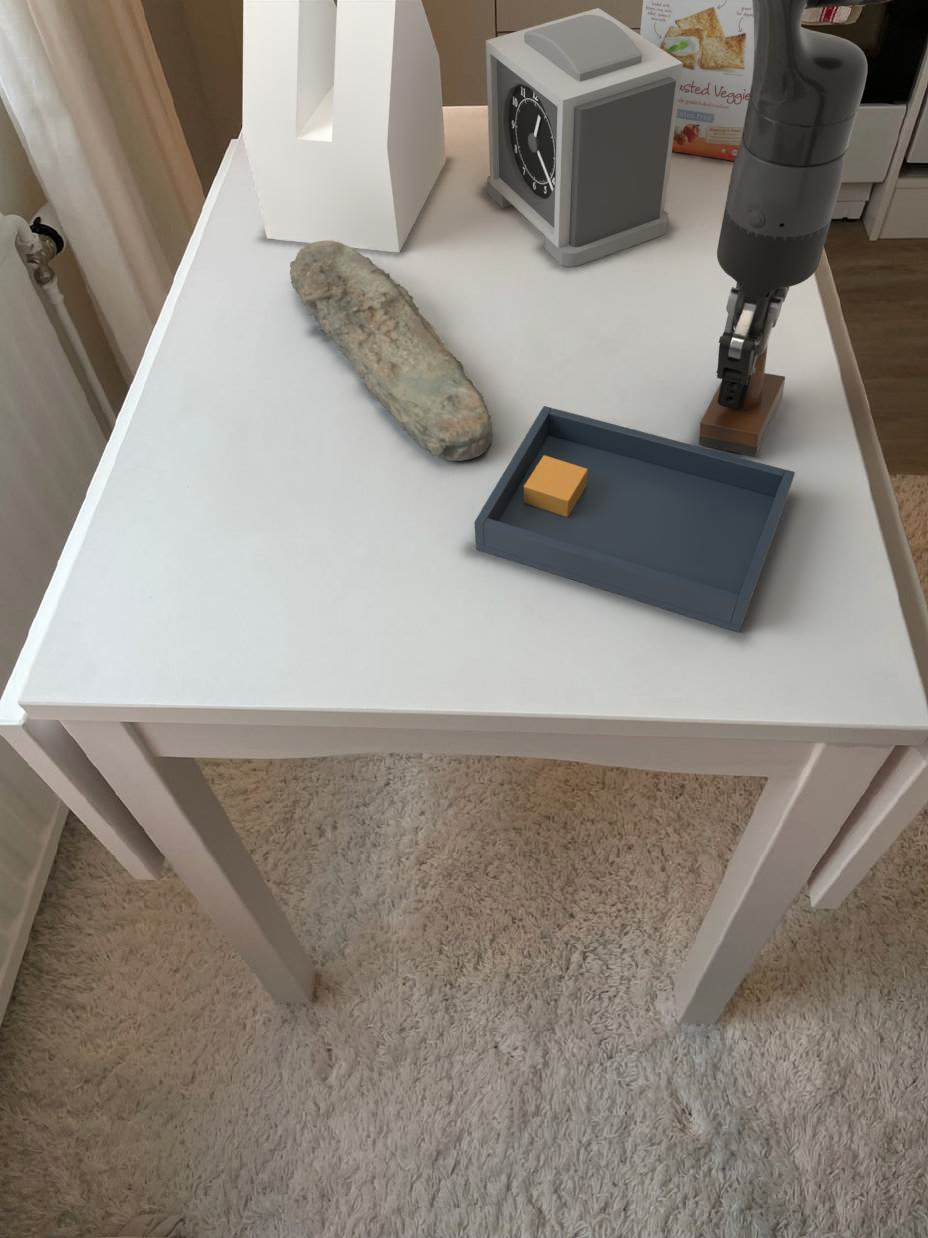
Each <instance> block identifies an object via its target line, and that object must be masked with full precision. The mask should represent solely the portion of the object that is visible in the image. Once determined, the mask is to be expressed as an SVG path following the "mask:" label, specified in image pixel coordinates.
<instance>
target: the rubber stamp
mask: <svg viewBox="0 0 928 1238" xmlns="http://www.w3.org/2000/svg"><path fill="white" fill-rule="evenodd" d="M748 336H749V335H748ZM761 336H762V333H761V335H760V336H753V337H761ZM768 347H769V343H768V344H767V346H766V348H765V351H764V352H763V353H762V354H760V355H758V357H757V361H756V365H755V368H756V370H755V373H754V374H753V375H752V377H751V381H750V385H749V389H748V393H747V397H746V401H745V404H744V406H743V408H742V409H741V410H735V409H731V408H728V407H724V406H721V405H719V404H718V396H719V391H720V387H721V383H719V386H718V387H717V389H716V392H715V393H714V395H713V397H712V399H711V401H710V403H709V405H708V407H707V408H706V410H705V412H704V415H703V417H702V418H701V420H700V422H699V435H698V436H699V437H698V445H699V446H702V447H708V448H712V449H716V450H717V449H718V450H723V451H727V452H733V453H737V454H743V455H747V456H752V457H757V455H758V453H759V452H760V451H759V450H760V448H761V447H762V444H763V443H764V440H765V438H766V436H767V433H768V431H769V429H770V427H771V424H772V423H773V420H774V418H775V416H776V414H777V411H778V409H779V407H780V405H781V403H782V401H783V397H784V390H785V383H786V376H784V375H779V374H773V373H768V372H766V365H767V364H766V363H767V357H768V356H767V354H768Z"/></svg>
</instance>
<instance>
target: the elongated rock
mask: <svg viewBox="0 0 928 1238" xmlns="http://www.w3.org/2000/svg"><path fill="white" fill-rule="evenodd" d="M289 268H290V269H289V275H290V283H291V285H292V288H293V289H294V291H295V292H296V293H297V295H298V296H299V297H300V302H301V303H302V305H304V306H305V309H307V312H308V313H307V314H308V315H309V316H312V317H313V318H314V319H315V321H316V322H317V323H319V326H318V331H323V332H324V333H325V335H327V337H328V338H329V339H332V340H333V343H334V344H335V346H336V347H337V348H338V349H339V350H340V352H341V354H342V355H343V356H344V357H345V358H346V359H347V360H348V361H349V362H350V363H351V364H352V366H353V368H354V370H355V371H356V373H357V375H358V377H359V378H360V379H362V380H363V381H364V383H365V386H366V389H367V391H368V392H369V393H370V394H372V395H373V396H374V397H375V398H376V400H378V401H379V402H380V404H381V406H382V407H384V408H386V409H387V411H388V412H389V413H390V414H392V416H393V417H394V419H395V420H396V422H397V423H398V424H399V426H400V427H401V429H402V430H403V431H406V432H407V433H408V435H409V436H410V437H411V438H412V439H413V440H415V441H416V442H417V443H418V444H419V446H420V448H421V449H426V450H429V451H430V452H431V455H432V456H433V457H435V458H436V457H441V458H443V459H445V460H447V461H452V462H455V461H459V462H462V461H468V460H472V459H474V458H476V457H480V456H481V455H482V454H484V453H485V452H487V450H488V448H489V446H490V445H491V442H492V439H493V437H494V433H493V423H492V416H491V414H490V412H489V410H488V405H487V402H485V399H484V396H483V393H482V392H480V391H479V389H477V387H476V386H475V385H474V383H473V381H472V380H471V379H470V378H469V377H468V376H467V375H466V372H465V369H464V367H463V366H464V365H463V364H462V363H461V361H460V360H459V359H457V357H455V356H454V355H453V354H452V353H451V351H450V350H448V349H447V347H446V346H445V344H444V342H443V341H442V340H441V338H440V337H439V334H438V333H437V332H436V331H435V330H434V327H433V326H432V325H431V323H430V322H429V321H428V320H426V318H425V317H424V316H423V315H422V314H421V312H420V307H418V306H417V305H416V303H415V302H414V301H413V300H414V297H413V296H412V295H410V293H409V290H407V289H406V288H405V287H404V286H402V285H401V284H400V283H397V282H395V281H394V279H392V278H391V275H390V273H389V272H385V270H384V269H382V268H379V267H378V266H377V265H376V264H375V263H373V261H372V260H371V259H370V257H368V256H364V255H363V254H361V253H360V252H358V250H356V249H355V248H351V247H349V246H347V245H344V244H342V243H340V242H335V241H328V240H326V241H316V242H313V243H306V244H305V245H304V246H302V247H301V248H300V249H299V251H298V252H297V253H296V256H295V259H294V260H293V261H290V263H289Z"/></svg>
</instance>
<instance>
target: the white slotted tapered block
mask: <svg viewBox="0 0 928 1238" xmlns="http://www.w3.org/2000/svg"><path fill="white" fill-rule="evenodd" d="M242 3H243V8H242V9H243V10H242V16H243V17H242V20H243V21H242V135H241V136H242V138H243V142H244V147H245V151H246V156H247V159H248V164H249V169H250V172H251V176H252V181H253V184H254V185H253V186H254V189H255V193H256V194H255V195H256V197H257V202H258V206H259V210H260V215H261V220H262V223H263V227H264V233H265V236H266V239H268V240H276V241H278V240H279V241H287V242H296V243H306V244H311V243H313V242H316V241H326V240H328V241H335V242H340V243H342V244H344V245H347V246H349V247H350V248H352V249H361V250H370V251H380V252H390V253H397V254H400V252H401V250H402V248H403V247H404V244H405V242H406V241H407V238H408V236H409V234H410V232H411V230H412V229H413V227H414V224H415V223H416V221H417V219H418V217H419V215H420V214H421V211H422V210H423V208H424V205H425V203H426V201H427V199H428V197H429V196H430V193H431V192H432V190H433V187H434V186H435V184H436V182H437V180H438V178H439V176H440V174H441V172H442V170H443V168H444V166H445V164H446V162H447V153H446V151H447V150H446V135H445V124H444V123H445V122H444V120H445V119H444V107H443V94H442V93H443V92H442V91H443V90H442V77H441V64H440V63H441V61H440V56H439V52H438V48H437V45H436V43H435V39H434V36H433V32H432V30H431V27H430V24H429V20H428V16H427V13H426V11H425V7H424V4H423V1H422V0H336V3H335V1H334V0H243V1H242Z"/></svg>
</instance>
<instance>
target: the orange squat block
mask: <svg viewBox="0 0 928 1238" xmlns="http://www.w3.org/2000/svg"><path fill="white" fill-rule="evenodd" d="M587 474H588V469H586V468H583V467H580V466H577V465H574V464H571V463H567V462H564V461H561V460H558V459H555V458H552V457H548V456H545V455H544V456H543V457H542V459H541V460H540V462H539V463H538V465H537V467H536V468H535V470H534V471H533V473H532V474H531V476H530V477H529V479H528V481H527V482H526V484H525V485H524V503H526V504H529V505H532V506H535V507H538V508H541V509H544V510H547V511H550V512H553V513H556V514H559V515H562V516H565V517H568V516H569V514H570V513H571V511H572V509H573V508H574V506H575V504H576V503H577V501H578V499H579V498H580V496H581V494H582V493H583V491H584V489H585V488H586V486H587Z"/></svg>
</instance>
